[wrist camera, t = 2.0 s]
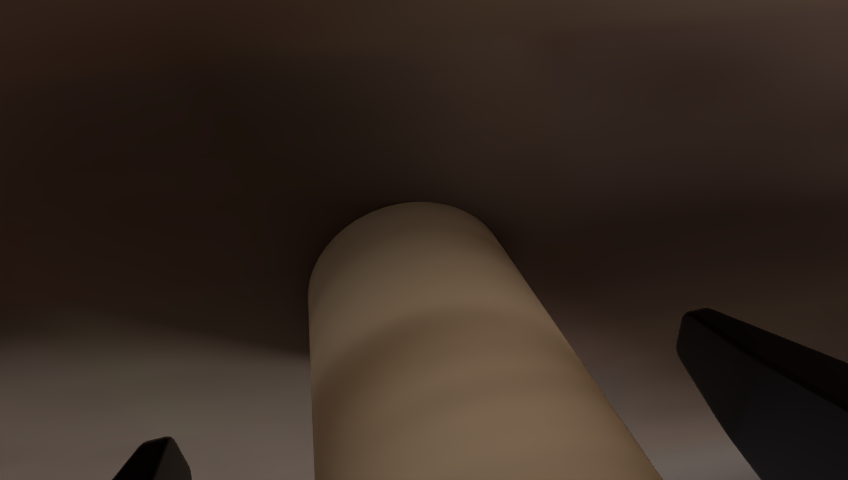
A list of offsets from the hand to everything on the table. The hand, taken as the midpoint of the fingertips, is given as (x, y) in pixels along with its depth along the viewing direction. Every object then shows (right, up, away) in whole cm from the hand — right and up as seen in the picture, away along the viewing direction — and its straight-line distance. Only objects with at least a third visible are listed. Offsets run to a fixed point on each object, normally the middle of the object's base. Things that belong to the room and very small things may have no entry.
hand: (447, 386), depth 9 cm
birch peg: (-1, +1, +2) cm, 3 cm away
